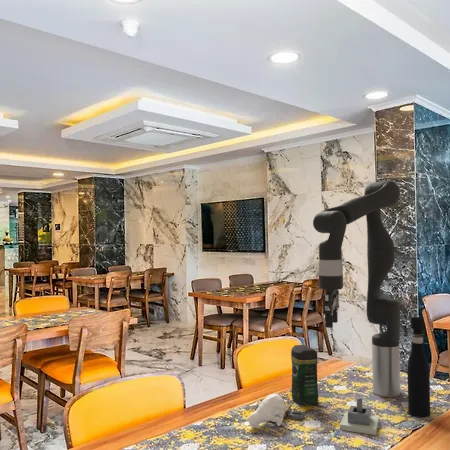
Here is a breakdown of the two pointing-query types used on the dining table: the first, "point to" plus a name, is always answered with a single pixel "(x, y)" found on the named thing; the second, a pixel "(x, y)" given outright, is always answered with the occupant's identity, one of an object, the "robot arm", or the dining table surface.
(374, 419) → the peg stand
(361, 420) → the link
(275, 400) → the white lumpy piece
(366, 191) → the robot arm
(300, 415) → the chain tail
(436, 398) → the dining table surface
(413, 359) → the black water bottle
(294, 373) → the coffee jar
